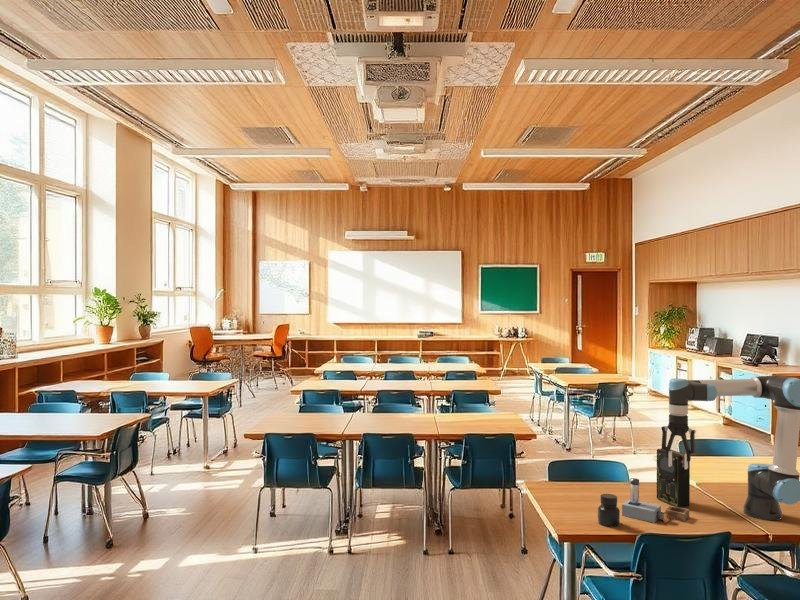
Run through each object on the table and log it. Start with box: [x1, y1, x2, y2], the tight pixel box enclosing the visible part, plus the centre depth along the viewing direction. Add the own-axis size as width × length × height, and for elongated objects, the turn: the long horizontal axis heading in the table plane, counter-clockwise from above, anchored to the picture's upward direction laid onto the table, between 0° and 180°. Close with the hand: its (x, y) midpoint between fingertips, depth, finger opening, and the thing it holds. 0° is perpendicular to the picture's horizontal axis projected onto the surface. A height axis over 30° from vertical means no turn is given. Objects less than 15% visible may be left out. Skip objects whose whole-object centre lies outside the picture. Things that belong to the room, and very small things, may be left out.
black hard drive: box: [656, 447, 691, 508], centre depth 284 cm, size 16×9×25 cm, turn 16°
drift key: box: [657, 510, 670, 524], centre depth 261 cm, size 9×4×4 cm, turn 51°
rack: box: [665, 505, 690, 523], centre depth 264 cm, size 8×8×4 cm
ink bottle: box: [597, 493, 621, 528], centre depth 256 cm, size 10×9×12 cm
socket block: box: [621, 498, 662, 524], centre depth 265 cm, size 14×10×5 cm
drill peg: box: [629, 478, 640, 506], centre depth 267 cm, size 4×4×16 cm
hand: (678, 467), depth 256 cm, fingers open, 6 cm apart
